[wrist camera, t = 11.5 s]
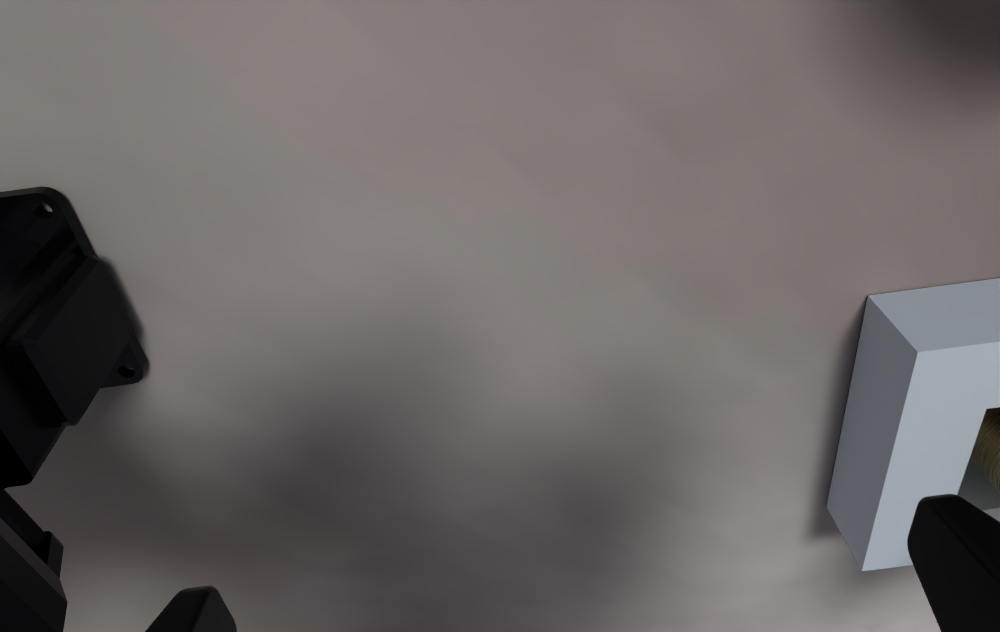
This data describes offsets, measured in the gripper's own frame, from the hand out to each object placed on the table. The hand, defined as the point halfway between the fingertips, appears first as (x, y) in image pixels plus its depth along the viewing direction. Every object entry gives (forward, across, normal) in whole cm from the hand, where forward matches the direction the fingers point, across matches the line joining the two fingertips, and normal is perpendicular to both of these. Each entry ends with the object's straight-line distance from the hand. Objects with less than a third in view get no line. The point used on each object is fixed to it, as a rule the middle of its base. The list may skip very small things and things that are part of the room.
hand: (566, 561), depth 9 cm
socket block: (+13, -16, +11) cm, 23 cm away
